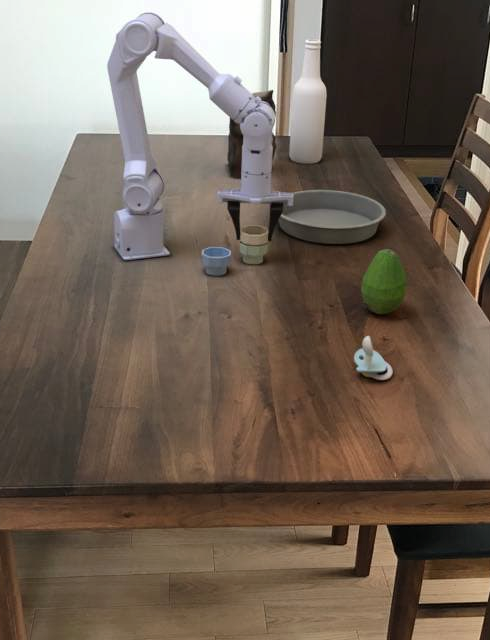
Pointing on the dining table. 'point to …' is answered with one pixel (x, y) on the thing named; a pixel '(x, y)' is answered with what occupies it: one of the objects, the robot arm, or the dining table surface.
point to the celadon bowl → (253, 253)
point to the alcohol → (308, 109)
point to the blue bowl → (216, 260)
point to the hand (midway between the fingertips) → (253, 238)
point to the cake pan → (331, 216)
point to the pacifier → (371, 362)
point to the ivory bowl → (253, 235)
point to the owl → (237, 138)
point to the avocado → (384, 283)
